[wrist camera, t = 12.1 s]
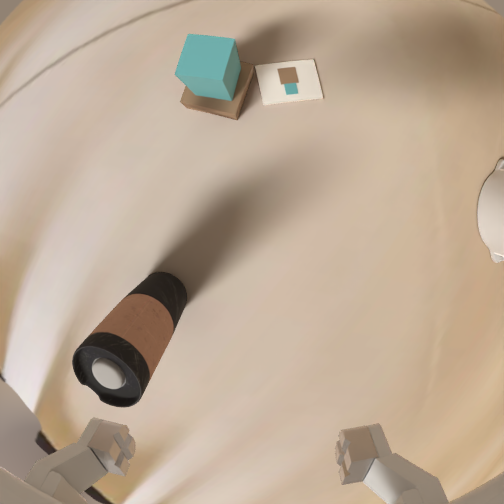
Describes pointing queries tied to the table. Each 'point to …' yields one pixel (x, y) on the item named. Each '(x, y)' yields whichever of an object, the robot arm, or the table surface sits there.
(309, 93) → the page
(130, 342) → the travel mug
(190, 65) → the teal brick
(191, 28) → the table surface
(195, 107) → the walnut brick
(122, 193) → the table surface
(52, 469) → the robot arm
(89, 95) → the table surface
